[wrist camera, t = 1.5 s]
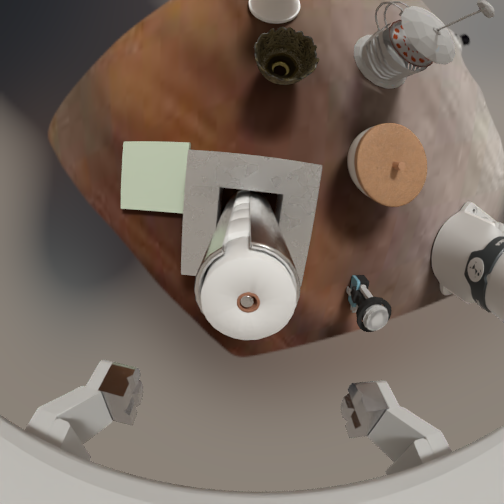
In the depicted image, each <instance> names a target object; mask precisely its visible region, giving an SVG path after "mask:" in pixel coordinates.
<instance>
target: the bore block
mask: <svg viewBox="0 0 504 504" xmlns="http://www.w3.org/2000/svg"><path fill="white" fill-rule="evenodd" d="M321 172H322V165H317V164H311V163H305V162H299V161H292V160H286V159H279V158H271V157H263V156H255V155H246V154H236V153H226V152H214V151H200V150H188V155H187V166H186V178H185V192H184V207H183V226H182V254H181V274H183V275H191V276H196V274H197V272H198V269H199V267H200V265H201V262H202V260H203V257H204V255H205V252H206V250H207V248H208V245H209V243H210V241H211V238H212V236H213V234H214V231H215V229H216V227H217V224H218V222H219V220H220V217H221V208H222V197H223V188H232V189H242V190H251V191H260V192H268V193H276V194H277V201H276V208H275V218H276V220H277V223H278V225H279V228H280V230H281V232H282V235H283V237H284V240H285V242H286V245H287V247H288V250H289V252H290V255H291V257H292V260H293V263H294V265H295V268H296V270H297V274H298V277H299V281H300V287H301V284H302V279H303V274H304V269H305V264H306V259H307V254H308V249H309V243H310V238H311V233H312V227H313V221H314V216H315V210H316V204H317V198H318V192H319V185H320V179H321Z"/></svg>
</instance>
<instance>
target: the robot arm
mask: <svg viewBox="0 0 504 504" xmlns="http://www.w3.org/2000/svg"><path fill="white" fill-rule="evenodd" d="M432 269H433V272H434V274H435V276H436V278H437V279H438V281H439V283H440V291H441V293H442V294H444V295H450V294H454V295H455V296H457V297H458V298H460V299H461V300H462V301H464V302H465V303H467V304H470V303H474V302H476V303H477V304H478V305H479V306H480V307H481V308H483V309H485V310H486V311H488V312H492V313H493V314H494V315H496V316H497V317H498V318H499V319H500V320H501V321H502V322H503V323H504V224H502V223H500V222H496V221H495V220H494V219H493V218H492V217H490V216H489V215H488V214H487V213H485V212H484V211H483V210H481V209H480V208H479V207H478V206H476V205H475V204H474V203H472V202H470V201H467V202H466V203H465V204H464V206H463V207H462V209H461V210H460V211H459V212H458V213H456V214H455V215H453V216H452V217H450V218H449V219H448V220H447V221H446V222H445V223H444V225H443V226H442V228H441V229H440V231H439V233H438V235H437V237H436V239H435V242H434V246H433V250H432ZM139 377H140V370H139V368H136V367H132V366H128V365H124V364H120V363H116V362H111V361H108V360H105V359H103V360H101V361H100V362H99V364H98V366H97V367H96V369H95V371H94V373H93V374H92V376H91V378H90V379H89V381H88V383H87V385H86V386H81V387H79V388H77V389H75V390H73V391H71V392H69V393H67V394H65V395H63V396H61V397H59V398H57V399H55V400H53V401H51V402H49V403H47V404H45V405H43V406H40V407H39V408H38V409H37V411H36V412H35V414H34V415H33V417H32V419H31V421H30V422H29V424H28V426H27V427H26V429H25V430H24V429H22V428H21V427H19V426H17V425H15V424H14V423H12V422H11V421H9V420H7V419H6V418H4V417H3V416H1V415H0V504H504V426H502V427H500V428H498V429H496V430H494V431H492V432H491V433H489V434H487V435H485V436H484V437H482V438H480V439H478V440H476V441H475V442H472V443H470V444H468V445H466V446H464V447H462V448H460V449H458V450H455V451H453V452H452V451H451V449H450V447H449V445H448V443H447V441H446V439H445V438H444V436H443V434H442V432H441V431H440V430H438V429H437V428H435V427H433V426H432V425H430V424H429V423H427V422H426V421H424V420H422V419H421V418H419V417H418V416H416V415H414V414H413V413H412V412H410V411H409V410H407V409H406V408H404V407H400V406H399V404H398V402H397V400H396V398H395V396H394V394H393V393H392V391H391V389H390V387H389V385H388V383H387V382H386V381H384V380H382V381H374V382H373V381H372V382H360V383H352V384H351V385H350V386H349V388H348V392H349V394H347V395H346V396H345V397H344V398H343V400H342V404H341V413H342V417H343V418H344V419H345V420H346V421H347V423H346V425H345V426H346V430H347V432H348V436H349V438H355V437H362V436H367V437H368V438H369V439H370V440H371V441H372V442H373V443H374V444H375V445H376V446H377V447H379V448H380V449H381V450H382V451H383V452H384V453H385V454H386V455H387V456H388V457H389V458H390V459H391V460H392V461H394V463H393V464H392V465H391V466H390V467H389V468H388V469H387V470H386V474H387V475H385V476H382V477H378V478H373V479H369V480H365V481H360V482H355V483H350V484H345V485H339V486H332V487H325V488H317V489H307V490H296V491H276V492H246V491H226V490H215V489H205V488H196V487H190V486H183V485H177V484H171V483H166V482H161V481H156V480H152V479H147V478H143V477H140V476H136V475H132V474H129V473H125V472H121V471H118V470H115V469H112V468H109V467H106V466H103V465H100V464H97V463H94V462H92V461H90V458H91V456H90V454H89V453H88V451H87V450H86V449H85V447H84V446H83V444H84V443H86V442H87V441H88V440H90V439H91V438H92V437H94V436H95V435H96V434H98V433H99V432H100V431H101V430H103V429H104V428H105V427H106V426H108V425H109V424H110V423H112V420H113V421H116V422H120V423H124V424H129V425H133V423H134V421H135V418H136V415H137V410H136V407H137V406H138V405H140V403H141V400H142V396H143V385H142V382H141V381H140V380H139Z"/></svg>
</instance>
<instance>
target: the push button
mask: <svg viewBox="0 0 504 504" xmlns="http://www.w3.org/2000/svg"><path fill="white" fill-rule="evenodd" d="M368 286H369V281H368V280H367V278H366V277H365V276H364V275H354V276H352V278H351V285H350V288H349V287H348V286H347V290H346V291H347V293H348V295H349V297H348V301H349V302H350V305H351V308H350V310H352V313H355V312H356V314H357V323H358V326H359V327H360V329H362V330H363V331H366V332H372V331H376V330H379V329H381V328H382V327H383V326H384V325H386V323H387V322H388V320H389V318H390V316H391V306H390V305H389V303H388V302H387V301H386V300H384V299H382V298H379V297H373V296H372V294H371V293H370V291H369V290H368ZM381 304H383V305H384V306H382V305H381ZM352 307H353V308H352ZM357 308H358V309H357ZM354 309H355V311H353V310H354ZM356 310H357V311H356ZM362 320H363V322H362Z"/></svg>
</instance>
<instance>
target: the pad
mask: <svg viewBox="0 0 504 504" xmlns="http://www.w3.org/2000/svg"><path fill="white" fill-rule="evenodd" d="M190 148H191V143H185V142H124V144H123V158H122V177H121V209H134V210H147V211H160V212H172V213H183V207H184V192H185V178H186V166H187V155H188V150H190Z"/></svg>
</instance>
